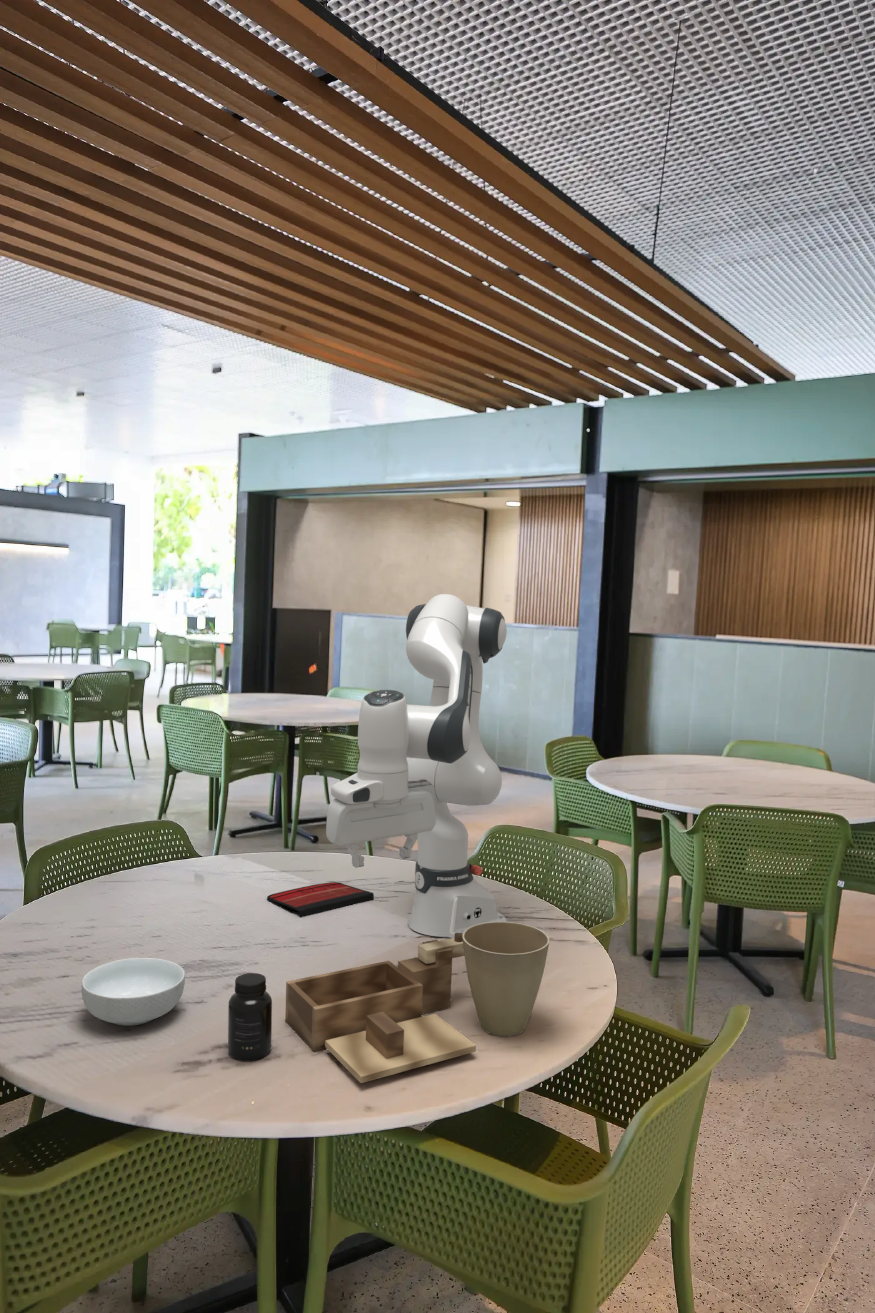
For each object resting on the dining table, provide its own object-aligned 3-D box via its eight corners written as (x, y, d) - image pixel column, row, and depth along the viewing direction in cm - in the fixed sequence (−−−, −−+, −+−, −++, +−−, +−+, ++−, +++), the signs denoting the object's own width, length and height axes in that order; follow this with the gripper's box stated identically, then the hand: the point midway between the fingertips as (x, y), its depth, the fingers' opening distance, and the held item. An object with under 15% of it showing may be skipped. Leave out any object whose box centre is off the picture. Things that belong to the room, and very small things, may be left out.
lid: (434, 1026, 159) (435, 991, 159) (475, 1058, 149) (476, 1021, 148) (324, 1054, 148) (325, 1016, 148) (360, 1091, 138) (361, 1050, 137)
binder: (374, 892, 223) (299, 910, 209) (374, 902, 223) (300, 920, 209) (335, 878, 235) (263, 894, 221) (335, 887, 235) (263, 904, 221)
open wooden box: (425, 989, 174) (427, 933, 173) (460, 1015, 163) (462, 956, 163) (285, 1021, 159) (286, 960, 158) (314, 1052, 149) (315, 987, 148)
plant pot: (476, 1001, 169) (479, 916, 168) (555, 1018, 164) (559, 930, 163) (445, 1036, 156) (449, 943, 154) (530, 1056, 150) (535, 959, 149)
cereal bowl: (125, 1049, 148) (126, 1006, 147) (59, 1021, 156) (60, 980, 156) (205, 1010, 162) (205, 971, 161) (140, 986, 171) (141, 949, 170)
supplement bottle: (230, 1041, 151) (232, 969, 150) (273, 1041, 152) (274, 969, 151) (224, 1062, 144) (226, 987, 144) (269, 1062, 145) (270, 987, 144)
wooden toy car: (459, 949, 171) (460, 930, 171) (468, 955, 169) (469, 935, 169) (417, 958, 167) (418, 938, 166) (426, 964, 164) (427, 944, 164)
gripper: (424, 774, 169) (423, 848, 171) (322, 787, 158) (321, 866, 160) (443, 781, 164) (441, 857, 165) (338, 795, 153) (338, 877, 155)
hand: (382, 862), depth 163 cm, fingers open, 8 cm apart
